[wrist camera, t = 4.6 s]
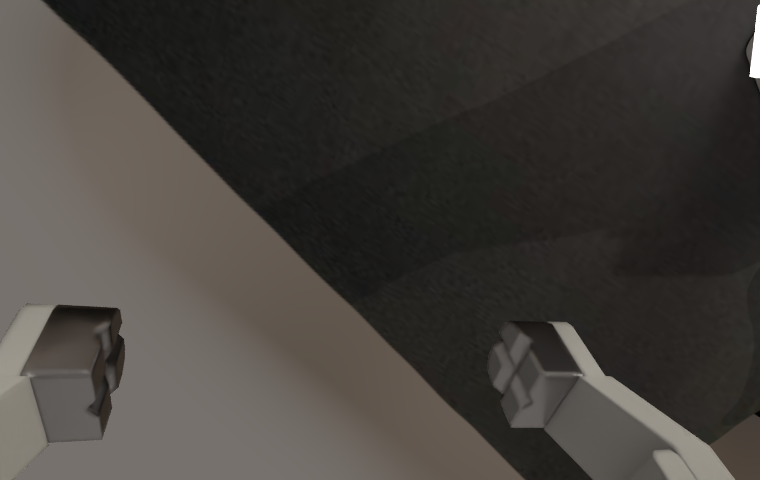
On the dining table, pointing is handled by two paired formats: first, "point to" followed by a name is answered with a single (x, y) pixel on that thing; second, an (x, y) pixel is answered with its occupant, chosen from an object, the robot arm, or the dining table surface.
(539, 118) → the dining table surface
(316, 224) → the dining table surface
